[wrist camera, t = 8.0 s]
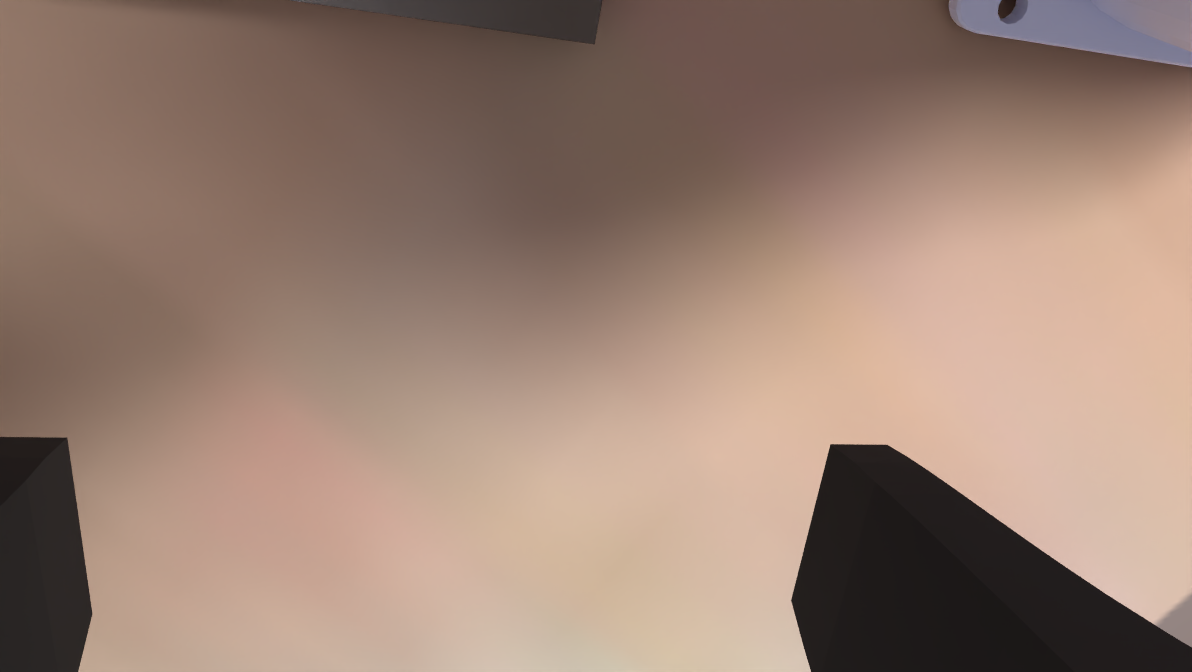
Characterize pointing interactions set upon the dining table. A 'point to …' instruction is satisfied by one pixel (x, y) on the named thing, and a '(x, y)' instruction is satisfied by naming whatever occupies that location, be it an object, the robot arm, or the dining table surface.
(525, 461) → the dining table surface
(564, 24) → the base
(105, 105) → the dining table surface
